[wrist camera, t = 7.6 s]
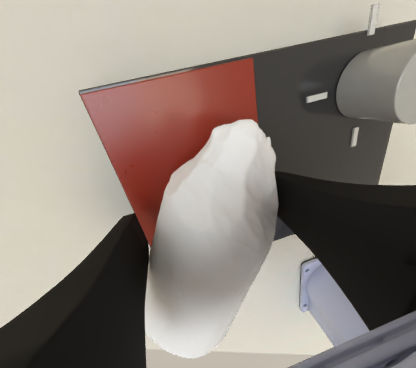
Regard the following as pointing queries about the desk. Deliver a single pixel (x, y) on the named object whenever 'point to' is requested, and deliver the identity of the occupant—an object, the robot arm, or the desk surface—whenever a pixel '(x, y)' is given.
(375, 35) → the hob
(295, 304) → the desk surface
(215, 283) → the white bottle
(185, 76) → the plate
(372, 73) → the hob knob
